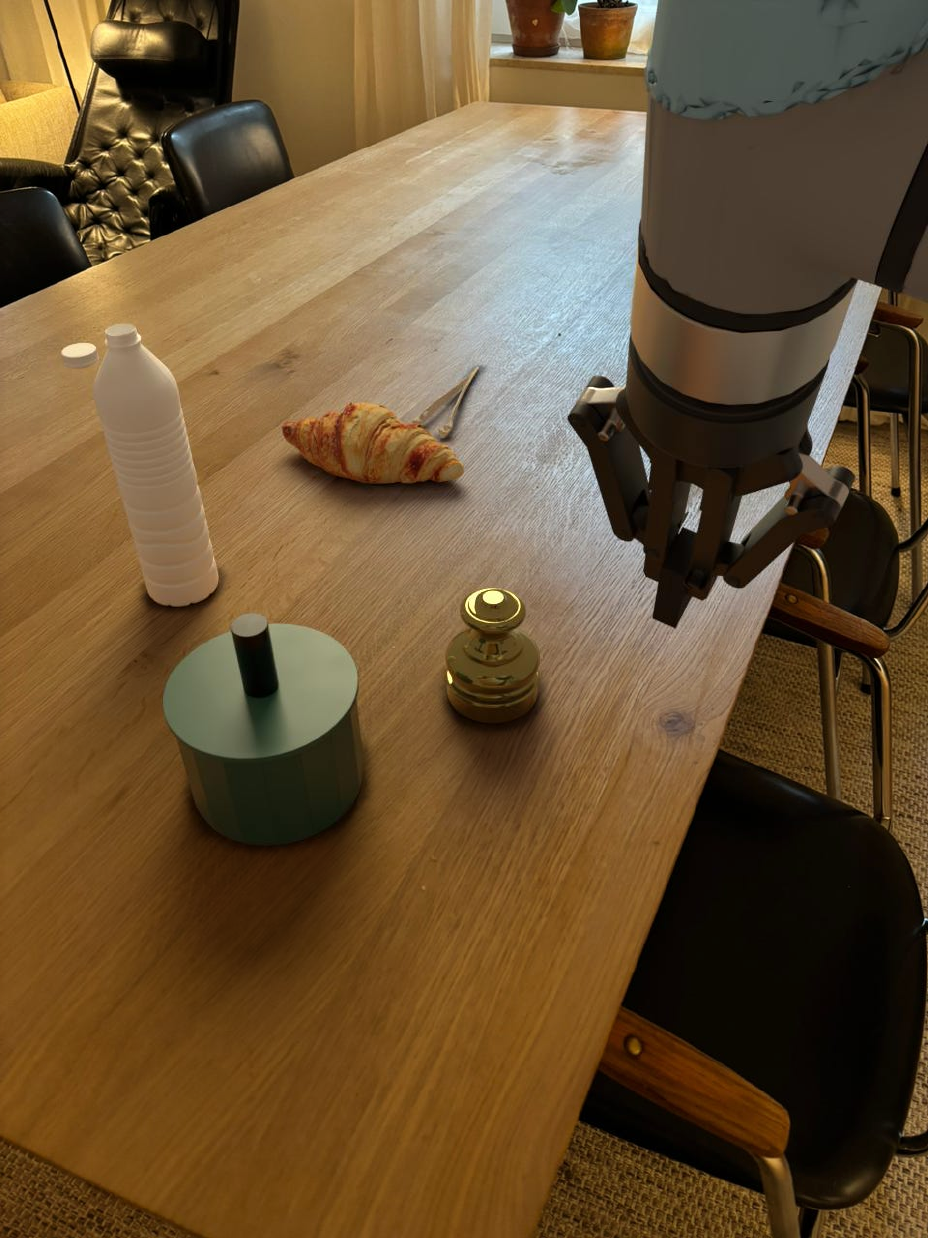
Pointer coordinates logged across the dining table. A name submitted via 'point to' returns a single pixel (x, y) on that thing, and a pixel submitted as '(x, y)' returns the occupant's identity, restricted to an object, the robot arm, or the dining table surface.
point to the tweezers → (444, 399)
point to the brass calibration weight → (492, 659)
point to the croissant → (372, 446)
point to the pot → (280, 789)
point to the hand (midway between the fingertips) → (673, 604)
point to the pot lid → (260, 692)
